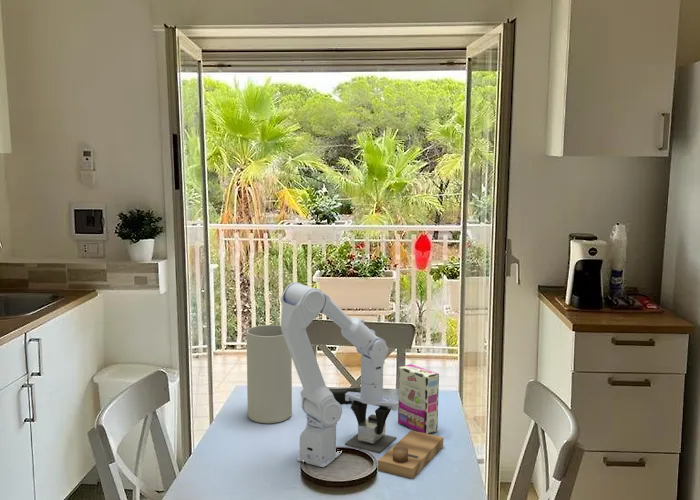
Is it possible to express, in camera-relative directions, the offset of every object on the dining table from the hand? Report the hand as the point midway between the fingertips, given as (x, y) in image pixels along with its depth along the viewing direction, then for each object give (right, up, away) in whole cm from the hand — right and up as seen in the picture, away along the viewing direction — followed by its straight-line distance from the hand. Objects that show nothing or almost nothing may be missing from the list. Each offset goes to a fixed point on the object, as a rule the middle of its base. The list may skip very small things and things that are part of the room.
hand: (371, 431), depth 176 cm
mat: (0, -3, 0) cm, 3 cm away
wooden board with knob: (+10, -4, -9) cm, 14 cm away
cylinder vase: (-28, 0, +17) cm, 33 cm away
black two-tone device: (-7, 0, +27) cm, 28 cm away
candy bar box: (+13, -2, +10) cm, 16 cm away
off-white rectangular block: (0, -2, +1) cm, 2 cm away
